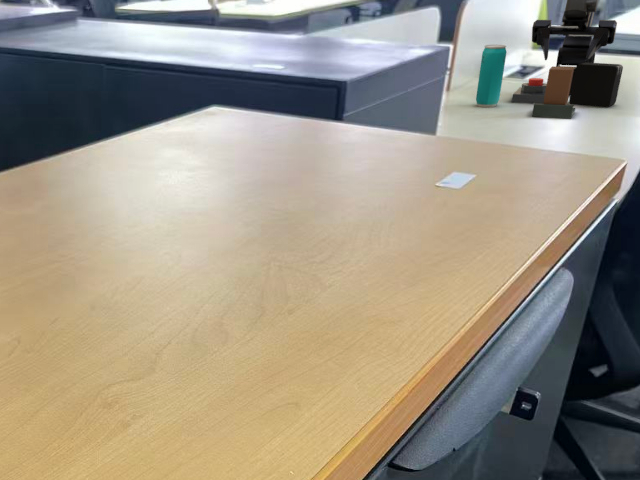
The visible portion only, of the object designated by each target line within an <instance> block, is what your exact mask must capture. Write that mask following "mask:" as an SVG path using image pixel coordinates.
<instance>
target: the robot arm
mask: <svg viewBox="0 0 640 480" xmlns="http://www.w3.org/2000/svg"><path fill="white" fill-rule="evenodd" d="M598 3H599V0H566V4H565V8H564V11H563V15H562V18H561V23H562V24H558V25H557V24H552V19H536V20H535V21H533V25H532V27H531V42H532V43H534V44H536V45H537V46H540V47H541V49H542V52H543V57H544V61H547V60H548V57H549V48H550V37H551V35H553V36H554V35H557V36H559V35H561V36H564V38H563V43H562V45H561V46H562V47H561V46H559V49H558V52H557V57H556V58H557V59H556V64H555V67H574V71H573V77H572V82H571V87H570V92H569V96H570V95H571V90H572V84H573V79H574V74H575V69H576V66H577V65H579V64H582V63H586V62H587V63H595V60H596V53H597V51H599V50H600V49H601V48H602V47H606V46H608V45H611V44H613V43H614V42H615V38H616V32H617V27H618V22H617V20H616V19H599V20H598V23H597V24H598V25H597V26H592V23H593V19H594V15H595V13H596V12H597V8H598Z"/></svg>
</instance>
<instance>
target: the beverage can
mask: <svg viewBox="0 0 640 480" xmlns="http://www.w3.org/2000/svg"><path fill="white" fill-rule="evenodd" d="M506 48H507V45H505V44H486V45H484V49H483V51H482V54H481V61H480V67H479V68H480V69H479V74H478V81H477V88H476V89H477V90H476V96H475V101H476V102H475V103H476V106H477V107H478V108H495V107H496V106H497V105H498V103H499V101H500V98H501V91H502V83H503V78H504V70H505V64H506V58H507V49H506Z"/></svg>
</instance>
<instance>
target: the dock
mask: <svg viewBox="0 0 640 480" xmlns="http://www.w3.org/2000/svg"><path fill="white" fill-rule="evenodd" d="M574 106H575V105H573V104H567V105H558V104H536V103H533V108H532V114H531V117H533V118H549V119H569V120H571V119H572V118H573V116H574V114H575V112H576V107H574Z"/></svg>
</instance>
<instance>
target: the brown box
mask: <svg viewBox="0 0 640 480" xmlns="http://www.w3.org/2000/svg"><path fill="white" fill-rule="evenodd" d="M574 67H575V66H572V67H556V66H554V65H553V66H551V67H550V68H549V70H548V75H547V79H546V80H547V81H546V84H547V86H546V91H545V97H544V102H543V104H558V105H568V103H569V99H570V95H569V92H570V87H571V82H572V77H573V71H574Z"/></svg>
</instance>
